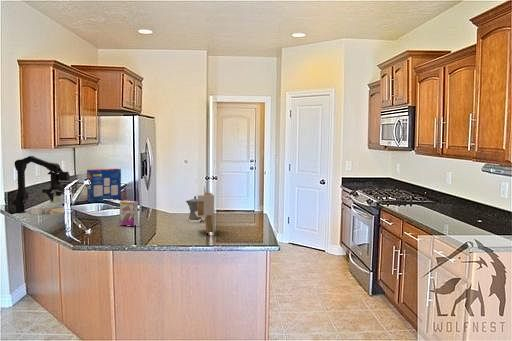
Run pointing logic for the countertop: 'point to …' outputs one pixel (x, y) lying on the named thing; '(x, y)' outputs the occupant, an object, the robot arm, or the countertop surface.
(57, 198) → the sage cube
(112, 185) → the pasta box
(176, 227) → the countertop surface
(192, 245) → the countertop surface
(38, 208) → the white cube
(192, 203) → the coffeepot
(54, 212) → the birch block
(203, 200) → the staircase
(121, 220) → the candy bar box
